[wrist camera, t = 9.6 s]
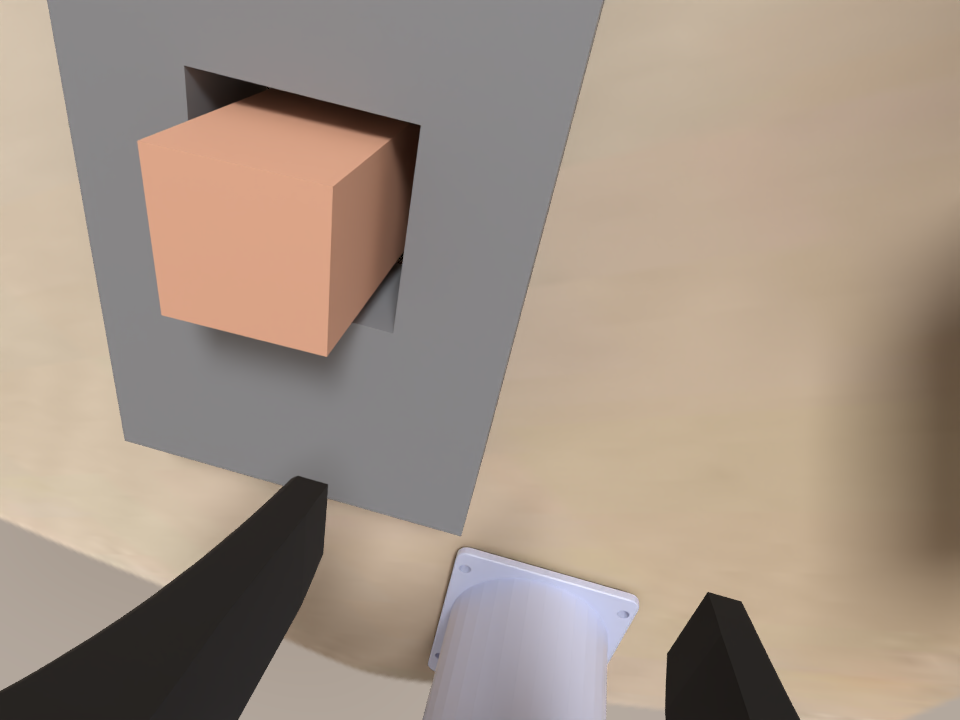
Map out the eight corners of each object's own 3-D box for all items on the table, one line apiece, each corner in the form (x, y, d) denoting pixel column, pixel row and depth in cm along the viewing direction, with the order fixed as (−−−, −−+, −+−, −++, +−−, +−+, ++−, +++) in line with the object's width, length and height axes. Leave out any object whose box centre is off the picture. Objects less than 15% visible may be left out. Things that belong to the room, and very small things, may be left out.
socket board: (482, 457, 24) (460, 536, 21) (190, 375, 25) (124, 440, 22) (666, -233, 13) (681, -295, 10) (125, -351, 14) (-33, -447, 10)
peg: (411, 240, 20) (326, 356, 14) (292, 211, 20) (161, 314, 15) (426, 110, 18) (332, 186, 12) (291, 79, 18) (137, 140, 12)
